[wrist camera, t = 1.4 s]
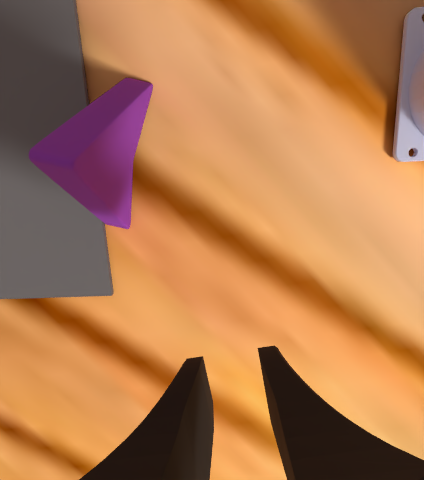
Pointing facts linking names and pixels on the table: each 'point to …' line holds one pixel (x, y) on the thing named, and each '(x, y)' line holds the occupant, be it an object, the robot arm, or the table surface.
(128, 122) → the arrowhead
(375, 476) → the robot arm
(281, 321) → the table surface
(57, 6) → the mat
